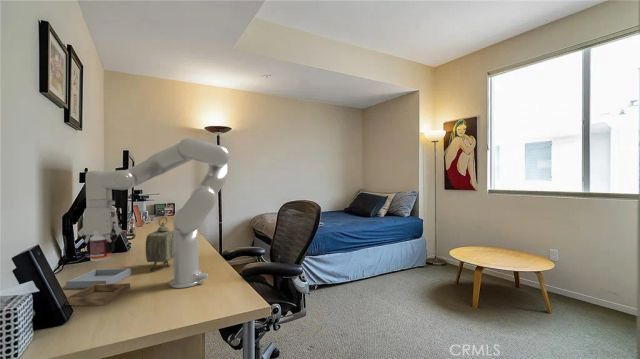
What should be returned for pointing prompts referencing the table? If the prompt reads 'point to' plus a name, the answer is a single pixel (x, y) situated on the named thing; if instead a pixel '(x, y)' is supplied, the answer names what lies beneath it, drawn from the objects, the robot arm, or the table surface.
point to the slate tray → (98, 278)
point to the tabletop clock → (160, 245)
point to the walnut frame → (82, 300)
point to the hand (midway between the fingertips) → (100, 252)
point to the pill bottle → (98, 247)
